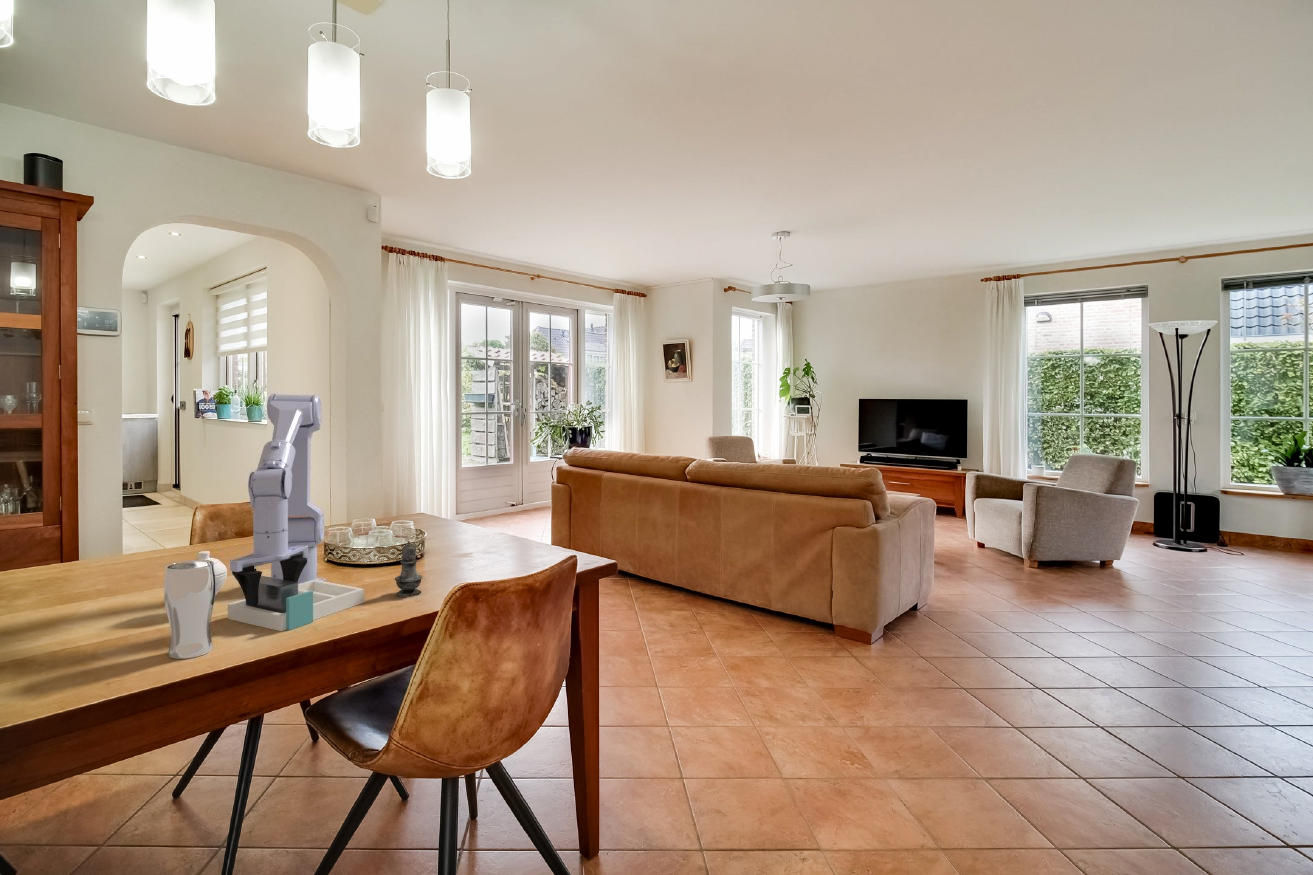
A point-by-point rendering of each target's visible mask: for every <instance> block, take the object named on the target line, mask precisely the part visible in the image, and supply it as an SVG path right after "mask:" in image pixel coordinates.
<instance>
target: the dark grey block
mask: <svg viewBox="0 0 1313 875" xmlns="http://www.w3.org/2000/svg"><path fill="white" fill-rule="evenodd" d="M295 595H298V583H297V582H292V581H287V580H282V579H276V578H271V576H266V575H265V576H264V575H261V578H260V582H259V589H258V605H257V606H250V605H247V603H246V606H250V607H255V608H260V609H264V610H269V611H273V612H278V613H282V614H283V613H286V598H288V597H291V596H295Z"/></svg>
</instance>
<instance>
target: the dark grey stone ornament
mask: <svg viewBox="0 0 1313 875" xmlns="http://www.w3.org/2000/svg"><path fill="white" fill-rule="evenodd" d="M401 549H402V550H401V560H400V561H399V562H400V563H401V571H400V575H398V576H396V577H394V581H395V583H396V586H397V588H398V589H400V590H398V591H397V592H396V593H395V596H396V597H400V598H410V597H417V596H419V595H421V594H422V591H421V589H420V590H419V589H418V588H419V587H420V585H421V582H422V579H423V578H424V577H423V575H422V574H418V573H417V562H418V559H417V555H416V554H417V550H416V546H415V545H414V544H411V541H410V540H408V541H407V543H406V544H405V545H403V546H402V548H401Z"/></svg>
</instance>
